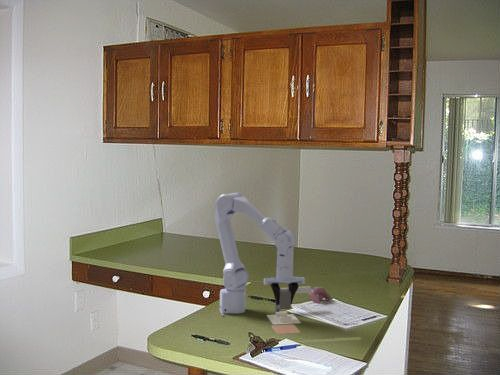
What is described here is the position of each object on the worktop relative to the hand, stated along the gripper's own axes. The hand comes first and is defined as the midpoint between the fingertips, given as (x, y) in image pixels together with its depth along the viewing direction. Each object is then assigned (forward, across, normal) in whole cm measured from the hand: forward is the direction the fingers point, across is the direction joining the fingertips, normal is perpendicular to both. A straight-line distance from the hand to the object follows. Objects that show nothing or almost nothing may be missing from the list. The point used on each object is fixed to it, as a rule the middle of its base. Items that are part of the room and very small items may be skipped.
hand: (283, 304), depth 182 cm
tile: (+6, -2, -10) cm, 12 cm away
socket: (+6, 0, +2) cm, 6 cm away
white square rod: (-1, +6, +9) cm, 11 cm away
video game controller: (+6, +21, +20) cm, 30 cm away
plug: (+1, 0, 0) cm, 1 cm away
